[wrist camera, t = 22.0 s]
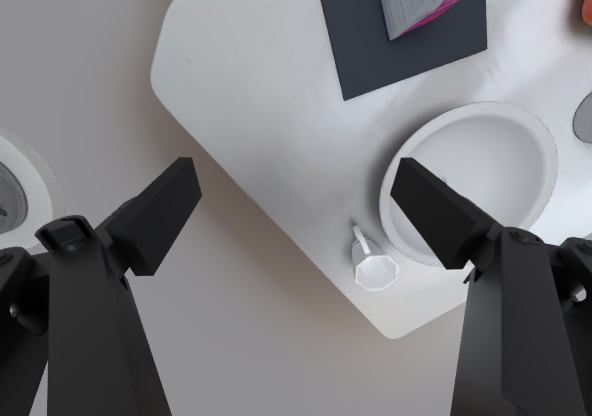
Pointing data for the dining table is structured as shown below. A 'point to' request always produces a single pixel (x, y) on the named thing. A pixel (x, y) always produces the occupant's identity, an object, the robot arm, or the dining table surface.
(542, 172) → the white sink basin
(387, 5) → the supplement box
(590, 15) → the apple
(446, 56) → the mat
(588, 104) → the mug
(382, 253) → the cup
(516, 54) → the dining table surface
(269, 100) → the dining table surface
